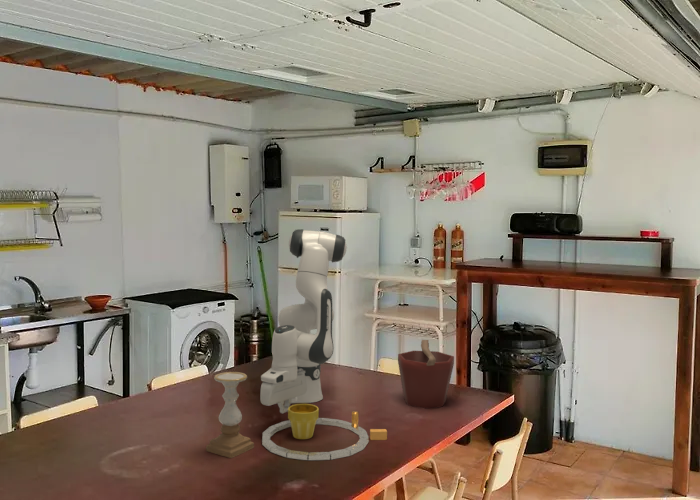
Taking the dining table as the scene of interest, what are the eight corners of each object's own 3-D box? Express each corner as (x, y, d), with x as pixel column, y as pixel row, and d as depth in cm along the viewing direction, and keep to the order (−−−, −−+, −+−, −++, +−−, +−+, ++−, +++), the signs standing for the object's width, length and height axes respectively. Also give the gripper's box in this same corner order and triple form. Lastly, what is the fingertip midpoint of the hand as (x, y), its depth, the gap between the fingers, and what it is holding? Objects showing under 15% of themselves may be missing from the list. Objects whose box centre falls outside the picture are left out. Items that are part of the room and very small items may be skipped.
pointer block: (370, 440, 210) (370, 431, 210) (369, 437, 212) (369, 429, 212) (386, 440, 210) (387, 431, 210) (385, 437, 213) (386, 429, 212)
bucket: (445, 414, 239) (446, 349, 238) (389, 407, 246) (390, 344, 245) (455, 396, 262) (457, 337, 261) (404, 390, 269) (405, 333, 268)
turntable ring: (240, 441, 206) (240, 422, 206) (310, 415, 234) (310, 398, 233) (321, 469, 185) (321, 448, 184) (388, 437, 212) (388, 418, 212)
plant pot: (313, 443, 207) (314, 414, 206) (283, 440, 209) (284, 411, 208) (321, 432, 217) (322, 404, 216) (292, 429, 219) (293, 402, 218)
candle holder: (231, 459, 192) (231, 382, 191) (205, 451, 198) (205, 376, 196) (254, 448, 201) (255, 374, 200) (229, 441, 207) (229, 369, 206)
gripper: (297, 366, 228) (297, 403, 228) (257, 377, 211) (257, 417, 212) (310, 368, 224) (310, 406, 224) (270, 380, 207) (270, 421, 208)
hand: (284, 412), depth 218 cm, fingers closed
